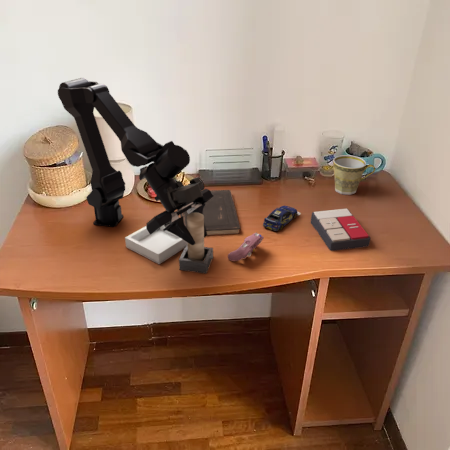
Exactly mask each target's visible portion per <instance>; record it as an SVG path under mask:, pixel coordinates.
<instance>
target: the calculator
mask: <svg viewBox="0 0 450 450" xmlns="http://www.w3.org/2000/svg"><path fill="white" fill-rule="evenodd" d="M310 224H311V225H312V227H313V229H315V230H316V232H317V234H318V235H319V236H320V238H321V240H322V241H323V243H324V244H325V246H326V247H327V248H328V250H329V251H331V252H335V251H341V250H351V249H360V248H368V247H370V243H371V237H370V235H369V233H367V231H366V230H365V229H364V228H363V226H362V225H361V224H360V223H359V221H358V220H357V218H355V216H354V214H353V213H352V212H351V210H350V209H348V208H339V209H330V210H320V211H319V210H318V211H312V212H311V217H310Z"/></svg>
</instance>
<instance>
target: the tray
mask: <svg viewBox="0 0 450 450" xmlns="http://www.w3.org/2000/svg"><path fill="white" fill-rule="evenodd" d="M164 228H165V226H164V225H163V226H162V227H160V230H158V231H157V232H155V233H153V234H151V235H150V233H149V232H148V230H147V227H146V226H143V227H142V228H140V229H138V230H136V231H134V232H133V233H130V234H129V235H128V236H125V237H124V241H125V247H126V248H127V249H128V250H131V251H133V252H134V253H137V254H138V255H140V256H142V257H144V258H145V259H148V260H150V261H152V262H153V263H156V264H158V265H161V264H162V263H164V262H166V261H167V260H168V259H170V258H171V257H173V256H175V255H176V254H177V253H179V252H180V251H182V250H184V249H185V247H186V245H188V242H186V241H185V240H183V239H181V238H180V237H178V236H176V235H175V234H173V233H171V232H169V231H167V230H166V231H163V229H164Z"/></svg>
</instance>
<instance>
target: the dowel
mask: <svg viewBox="0 0 450 450" xmlns="http://www.w3.org/2000/svg"><path fill="white" fill-rule="evenodd" d="M187 229H188V231H189V232H190V234H191V236H192V237H193V239H194V241H195V244H194V245H191V244H189V243H188V259H191V260H199V261H204V260H205V259H204V247H205V238H204V215H203V214H201V213H196V212H195V213H190V214H188V215H187Z"/></svg>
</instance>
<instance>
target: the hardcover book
mask: <svg viewBox="0 0 450 450" xmlns="http://www.w3.org/2000/svg"><path fill="white" fill-rule="evenodd" d="M210 191H211V193H212V194H213V196H214V197H212V198H211V199H210V200H208V201H207V202H206V203H205V204H206V205H205V206H204V208H203V215H204V223H205V227H206V231H207V236H213V235H227V234H228V235H229V234H239V233H240V230H241V225H240V221H239V218H238V214H237V210H236V206H235V203H234V199H233V195H232V191H231V189H218V190H217V189H216V190H215V189H213V190H210ZM182 208H183V207H182ZM187 215H188V213H187V211H186V212H184V213H182V214H181V215H179V218H180V217H182V216H183V220H184V225H185V226H186V228H187V218H186V216H187Z"/></svg>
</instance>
